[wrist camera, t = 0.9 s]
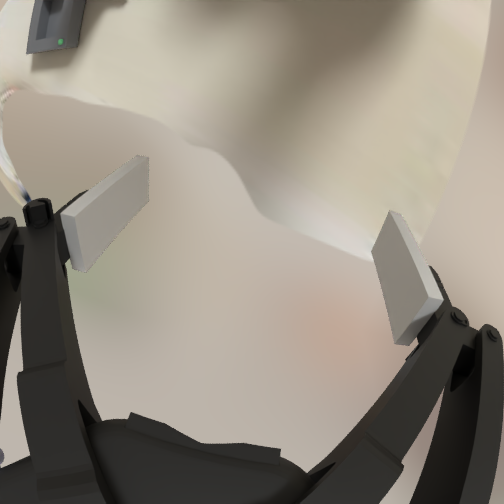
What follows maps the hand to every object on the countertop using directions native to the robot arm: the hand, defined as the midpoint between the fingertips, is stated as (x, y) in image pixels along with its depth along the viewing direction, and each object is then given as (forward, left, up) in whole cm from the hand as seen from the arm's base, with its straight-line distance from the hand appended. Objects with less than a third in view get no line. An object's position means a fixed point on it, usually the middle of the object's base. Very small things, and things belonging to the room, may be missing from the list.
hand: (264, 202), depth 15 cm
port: (-14, -39, -26) cm, 49 cm away
